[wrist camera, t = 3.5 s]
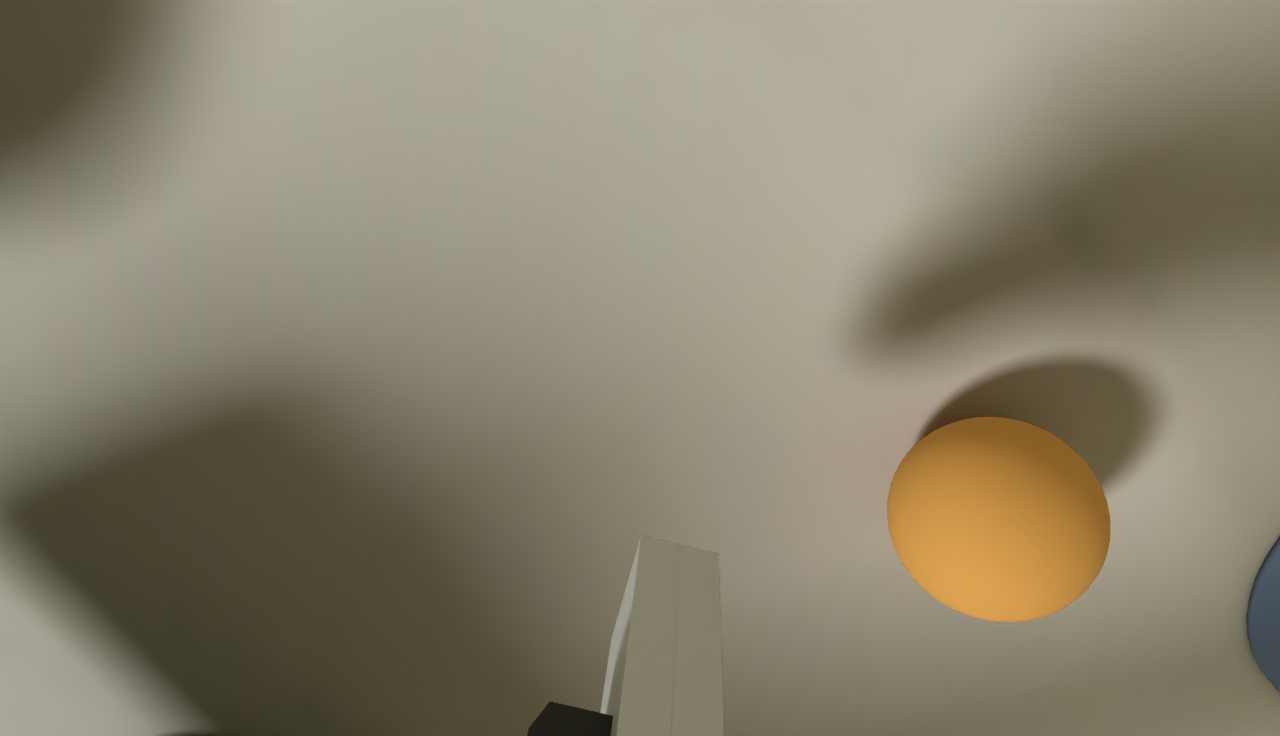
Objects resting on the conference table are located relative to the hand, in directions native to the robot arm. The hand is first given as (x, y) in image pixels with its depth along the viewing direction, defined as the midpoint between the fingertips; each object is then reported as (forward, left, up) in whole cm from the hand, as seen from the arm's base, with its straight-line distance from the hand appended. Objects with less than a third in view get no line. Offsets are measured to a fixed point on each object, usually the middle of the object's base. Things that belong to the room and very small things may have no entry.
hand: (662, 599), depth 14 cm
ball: (+9, 0, -6) cm, 11 cm away
